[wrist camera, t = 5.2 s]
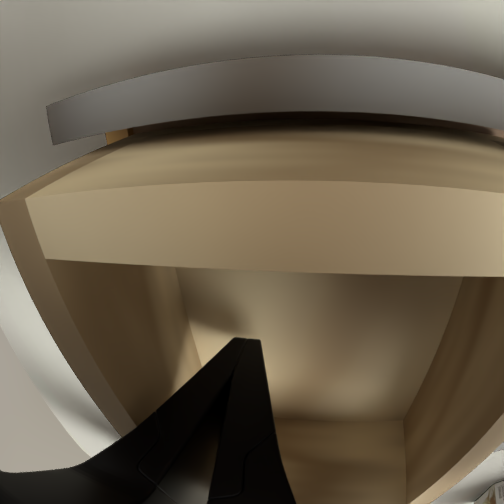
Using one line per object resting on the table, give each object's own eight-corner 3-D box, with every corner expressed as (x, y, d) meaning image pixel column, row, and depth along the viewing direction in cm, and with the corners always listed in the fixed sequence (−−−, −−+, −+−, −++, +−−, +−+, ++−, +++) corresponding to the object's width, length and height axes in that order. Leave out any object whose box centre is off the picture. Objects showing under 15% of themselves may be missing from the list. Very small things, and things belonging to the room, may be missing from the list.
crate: (204, 400, 14) (170, 490, 10) (135, 133, 8) (-7, 203, 4) (415, 412, 12) (421, 509, 8) (501, 137, 6) (632, 217, 2)
